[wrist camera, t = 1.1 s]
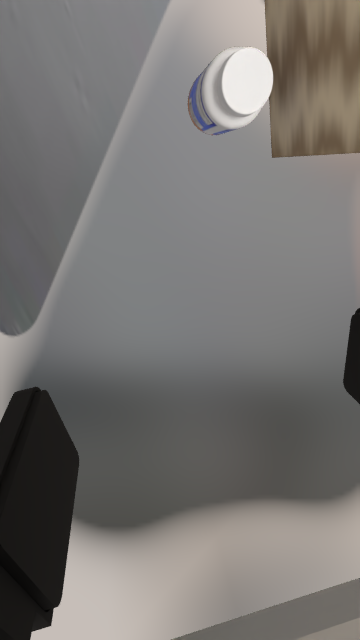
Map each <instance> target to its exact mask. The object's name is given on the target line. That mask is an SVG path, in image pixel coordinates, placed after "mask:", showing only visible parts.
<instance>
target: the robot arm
mask: <svg viewBox="0 0 360 640" xmlns="http://www.w3.org/2000/svg"><path fill="white" fill-rule="evenodd" d="M343 383H344V387H345V389H346V391H347V392H348V393H349V394H350V395H351V396H352V397H353V398H354V399H355V400H356V401H357V402H358V403H359V404H360V308H359V309H357V311H356V312H355V314H354V315H353V316H352V318H351V325H350V332H349V340H348V348H347V356H346V363H345V371H344V379H343ZM78 468H79V456H78V452H77V450H76V448H75V446H74V444H73V442H72V440H71V438H70V436H69V434H68V432H67V430H66V428H65V426H64V424H63V422H62V420H61V418H60V416H59V414H58V412H57V410H56V408H55V405H54V403H53V401H52V400H51V397H50V396H49V393H48V392H47V391H46V390H43V391H41V390H40V389H39V388H38V387H33V388H29V389H25V390H21V391H17V392H15V393H14V394H13V396H12V398H11V400H10V402H9V405H8V407H7V409H6V411H5V413H4V416H3V418H2V420H1V422H0V640H30V637H31V632H32V631H36V630H39V629H42V628H45V627H49V626H51V622H52V616H53V609H54V608H55V607H58V605H59V604H60V601H61V598H62V591H63V584H64V576H65V568H66V560H67V553H68V545H69V538H70V530H71V522H72V515H73V506H74V499H75V491H76V483H77V476H78ZM172 640H360V578H358V579H355V580H352V581H349V582H346V583H343V584H340V585H336V586H333V587H330V588H327V589H324V590H321V591H318V592H315V593H312V594H309V595H306V596H302V597H299V598H296V599H293V600H290V601H287V602H284V603H281V604H278V605H275V606H272V607H269V608H266V609H263V610H259V611H256V612H253V613H250V614H248V615H245V616H241V617H238V618H235V619H232V620H230V621H226V622H223V623H220V624H217V625H214V626H211V627H208V628H205V629H202V630H199V631H196V632H193V633H190V634H187V635H184V636H181V637H178V638H175V639H172Z"/></svg>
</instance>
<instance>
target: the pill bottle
mask: <svg viewBox="0 0 360 640" xmlns="http://www.w3.org/2000/svg"><path fill="white" fill-rule="evenodd" d="M272 85H273V71H272V67H271V64H270V61H269V59H268V58H267V57H266V55H265V54H264V53H263V52H262V51H261V50H259V49H257V48H254V47H245V48H243V47H231V48H228V49H226V50H224V51H222V52H221V53H219V54H218V55H217V56H216V57H215V58H214V59H213V60H212V61H211V63H210V64H209V65H208V66H207V67H206V68H205V70H204V71H203V72H202V73H201V74H200V76H199V77H198V78H197V79H196V80H195V82H194V84H193V86H192V87H191V90H190V93H189V97H188V111H189V115H190V117H191V120H192V122H193V123H194V125H195V126H196V127H197V128H198V129H199V130H200V131H202V132H203V133H205V134H209V135H219V134H223V133H226V132H229V131H232V130H236V129H239V128H242V127H244V126H246V125H248V124H249V123H250V122H252V121H253V120H254V119H255V118H256V116H257V115H258V114H259V112H260V110H261V109H262V107H263V105H264V104H265V103H266V101H267V100H268V98H269V96H270V93H271V90H272Z"/></svg>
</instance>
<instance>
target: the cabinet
mask: <svg viewBox="0 0 360 640" xmlns="http://www.w3.org/2000/svg"><path fill="white" fill-rule="evenodd" d="M265 17H266V38H267V58H268V59H269V61H270V64H271V67H272V71H273V85H272V90H271V93H270V96H269V101H270V122H271V144H272V145H271V146H272V158H275V157H293V156H310V155H327V154H345V153H360V0H265Z"/></svg>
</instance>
